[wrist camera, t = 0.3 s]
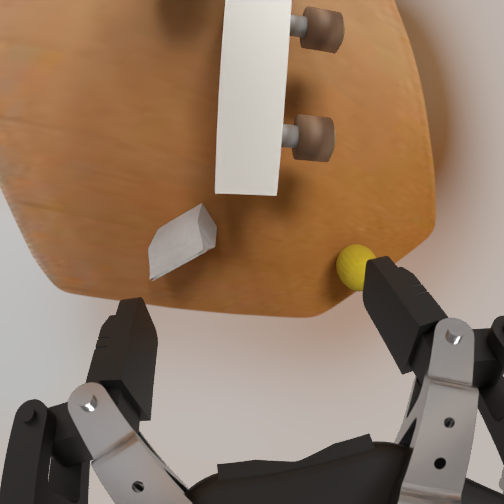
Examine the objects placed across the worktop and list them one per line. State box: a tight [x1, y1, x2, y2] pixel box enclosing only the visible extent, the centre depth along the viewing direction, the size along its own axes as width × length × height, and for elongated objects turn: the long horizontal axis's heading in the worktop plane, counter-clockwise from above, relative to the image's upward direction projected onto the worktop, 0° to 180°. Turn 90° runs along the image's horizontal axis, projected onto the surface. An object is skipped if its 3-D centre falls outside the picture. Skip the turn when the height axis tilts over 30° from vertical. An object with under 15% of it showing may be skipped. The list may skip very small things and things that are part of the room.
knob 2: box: [281, 114, 336, 162], centre depth 28 cm, size 4×6×4 cm
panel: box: [215, 0, 292, 196], centre depth 27 cm, size 20×5×13 cm, turn 176°
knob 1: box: [289, 7, 345, 53], centre depth 23 cm, size 4×6×4 cm
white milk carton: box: [148, 203, 217, 281], centre depth 36 cm, size 4×7×10 cm, turn 118°
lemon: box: [336, 244, 376, 291], centre depth 40 cm, size 6×6×8 cm
